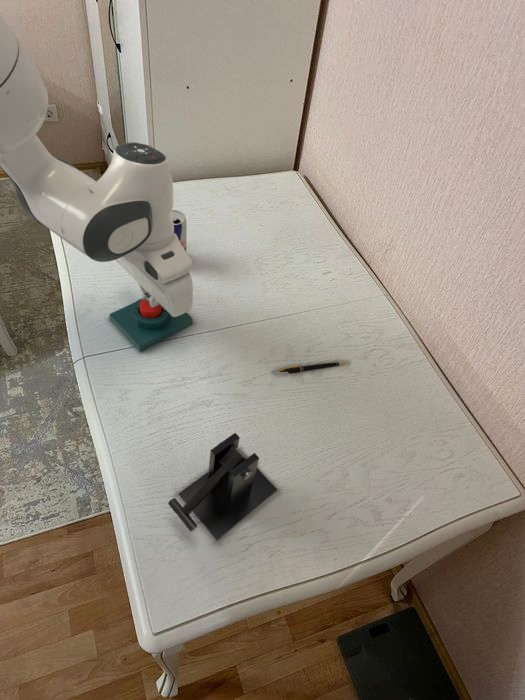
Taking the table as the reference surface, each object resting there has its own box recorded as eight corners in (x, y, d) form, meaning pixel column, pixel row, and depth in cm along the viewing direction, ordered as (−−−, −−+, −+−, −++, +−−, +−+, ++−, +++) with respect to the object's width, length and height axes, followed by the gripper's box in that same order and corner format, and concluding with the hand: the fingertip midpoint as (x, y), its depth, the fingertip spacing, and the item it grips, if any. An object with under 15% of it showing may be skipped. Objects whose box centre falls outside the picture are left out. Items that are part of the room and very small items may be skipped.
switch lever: (194, 531, 68) (187, 532, 66) (172, 504, 70) (164, 503, 68) (255, 466, 69) (250, 464, 66) (231, 441, 71) (226, 438, 68)
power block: (140, 354, 92) (138, 340, 89) (110, 322, 96) (107, 307, 93) (192, 326, 98) (192, 311, 95) (162, 296, 102) (161, 282, 99)
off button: (148, 321, 93) (147, 315, 91) (135, 309, 94) (135, 302, 93) (165, 312, 95) (165, 306, 93) (153, 300, 96) (153, 294, 95)
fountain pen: (344, 362, 97) (346, 357, 96) (346, 367, 96) (348, 362, 95) (273, 372, 93) (274, 367, 92) (275, 377, 93) (276, 372, 91)
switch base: (216, 543, 72) (221, 506, 62) (178, 496, 76) (177, 455, 66) (276, 492, 78) (289, 452, 68) (238, 452, 82) (246, 408, 72)
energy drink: (170, 275, 107) (168, 228, 98) (156, 261, 109) (154, 214, 100) (191, 266, 109) (191, 220, 100) (177, 252, 112) (177, 206, 103)
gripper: (95, 215, 85) (105, 277, 95) (167, 283, 77) (169, 342, 87) (127, 204, 88) (133, 264, 99) (200, 267, 80) (198, 326, 90)
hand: (150, 302), depth 93 cm, fingers closed
